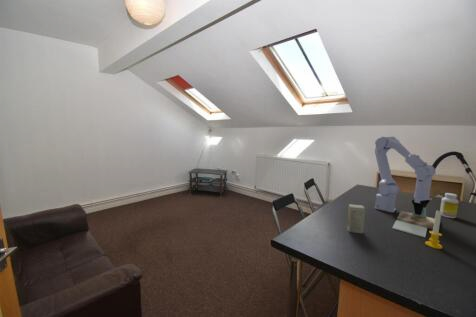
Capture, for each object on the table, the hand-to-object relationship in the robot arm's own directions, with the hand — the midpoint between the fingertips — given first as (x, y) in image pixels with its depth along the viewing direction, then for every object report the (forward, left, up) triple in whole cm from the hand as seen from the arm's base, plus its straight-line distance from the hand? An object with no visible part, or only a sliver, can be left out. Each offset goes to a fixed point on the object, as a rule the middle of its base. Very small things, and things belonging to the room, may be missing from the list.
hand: (419, 213), depth 108 cm
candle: (+7, -27, -4) cm, 28 cm away
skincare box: (-20, -37, -4) cm, 42 cm away
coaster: (-2, -15, -4) cm, 16 cm away
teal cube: (0, 0, -1) cm, 1 cm away
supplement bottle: (+11, +21, -4) cm, 24 cm away
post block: (0, 0, -4) cm, 4 cm away
